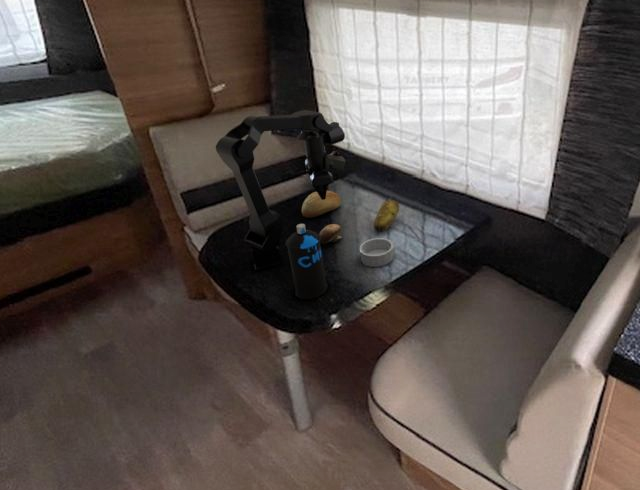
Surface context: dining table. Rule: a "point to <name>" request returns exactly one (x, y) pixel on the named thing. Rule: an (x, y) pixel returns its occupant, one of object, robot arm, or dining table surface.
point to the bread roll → (320, 204)
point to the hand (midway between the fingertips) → (321, 194)
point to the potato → (386, 215)
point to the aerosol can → (306, 263)
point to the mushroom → (330, 233)
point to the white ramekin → (376, 252)
